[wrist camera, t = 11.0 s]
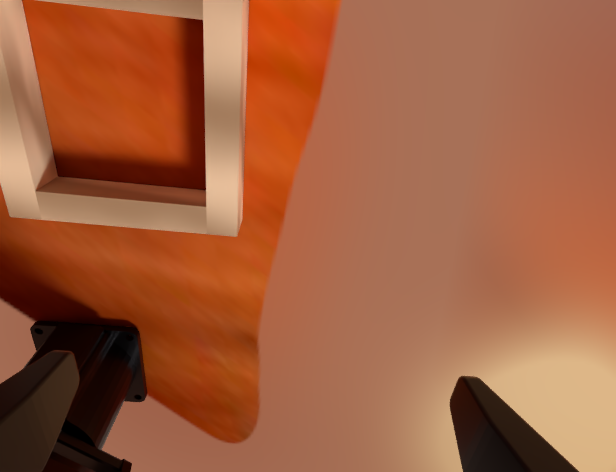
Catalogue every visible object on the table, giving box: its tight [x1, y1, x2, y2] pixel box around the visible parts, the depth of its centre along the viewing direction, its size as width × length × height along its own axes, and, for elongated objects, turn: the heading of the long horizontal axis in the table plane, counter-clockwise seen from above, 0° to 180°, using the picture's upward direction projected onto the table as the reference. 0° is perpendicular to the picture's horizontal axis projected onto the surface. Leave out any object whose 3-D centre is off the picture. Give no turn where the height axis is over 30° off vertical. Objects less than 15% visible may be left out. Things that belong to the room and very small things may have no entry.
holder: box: [0, 0, 249, 237], centre depth 18 cm, size 11×11×2 cm
